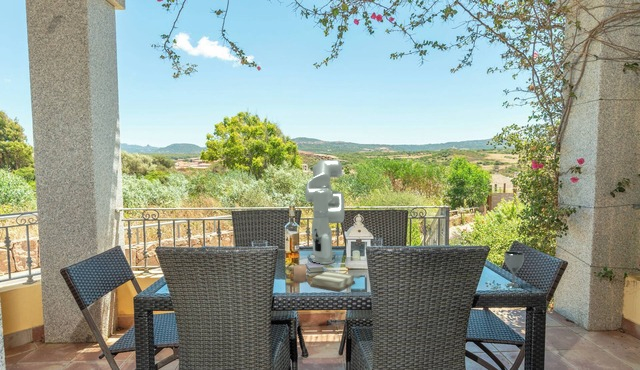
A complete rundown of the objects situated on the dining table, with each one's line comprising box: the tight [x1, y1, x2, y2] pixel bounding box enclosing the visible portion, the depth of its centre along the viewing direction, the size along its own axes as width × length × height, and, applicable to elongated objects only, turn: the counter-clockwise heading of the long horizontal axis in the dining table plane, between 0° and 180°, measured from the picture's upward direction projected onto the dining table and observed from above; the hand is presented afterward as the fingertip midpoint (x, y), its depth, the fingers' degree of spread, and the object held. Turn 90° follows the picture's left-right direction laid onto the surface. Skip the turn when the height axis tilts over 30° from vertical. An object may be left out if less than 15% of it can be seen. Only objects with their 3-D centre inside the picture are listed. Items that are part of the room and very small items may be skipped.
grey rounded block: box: [312, 233, 330, 258], centre depth 214 cm, size 10×4×12 cm, turn 41°
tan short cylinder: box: [293, 264, 307, 283], centre depth 201 cm, size 6×6×7 cm
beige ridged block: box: [310, 270, 356, 293], centre depth 194 cm, size 15×15×4 cm
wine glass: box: [504, 250, 525, 288], centre depth 191 cm, size 8×8×15 cm
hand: (321, 249), depth 214 cm, fingers closed on grey rounded block, 5 cm apart
